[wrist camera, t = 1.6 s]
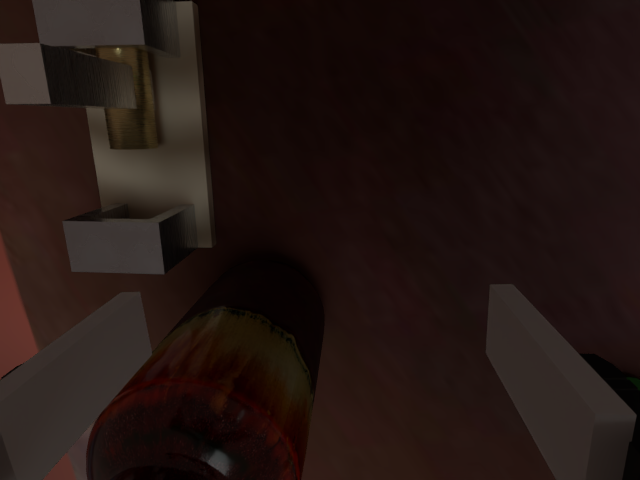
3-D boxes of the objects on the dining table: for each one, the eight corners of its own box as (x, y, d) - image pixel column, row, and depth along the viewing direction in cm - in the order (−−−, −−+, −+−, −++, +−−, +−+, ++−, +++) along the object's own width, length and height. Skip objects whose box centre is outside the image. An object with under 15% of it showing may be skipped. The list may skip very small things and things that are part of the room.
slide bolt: (91, -106, 30) (-79, -251, 18) (138, -108, 29) (-4, -258, 18) (125, 146, 35) (9, 159, 23) (165, 146, 34) (69, 159, 23)
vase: (286, 228, 37) (144, 450, 12) (349, 323, 39) (337, 677, 14) (193, 284, 39) (-87, 565, 14) (256, 371, 42) (108, 745, 17)
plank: (79, 8, 33) (69, 4, 32) (197, 5, 32) (191, 1, 31) (115, 241, 39) (107, 245, 38) (216, 243, 38) (212, 247, 37)
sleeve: (85, 4, 32) (28, -21, 26) (175, 1, 31) (136, -25, 26) (93, 59, 33) (40, 46, 28) (180, 57, 32) (144, 44, 27)
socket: (114, 203, 36) (62, 221, 30) (194, 204, 36) (158, 222, 29) (121, 245, 38) (71, 271, 31) (198, 247, 37) (164, 274, 30)
